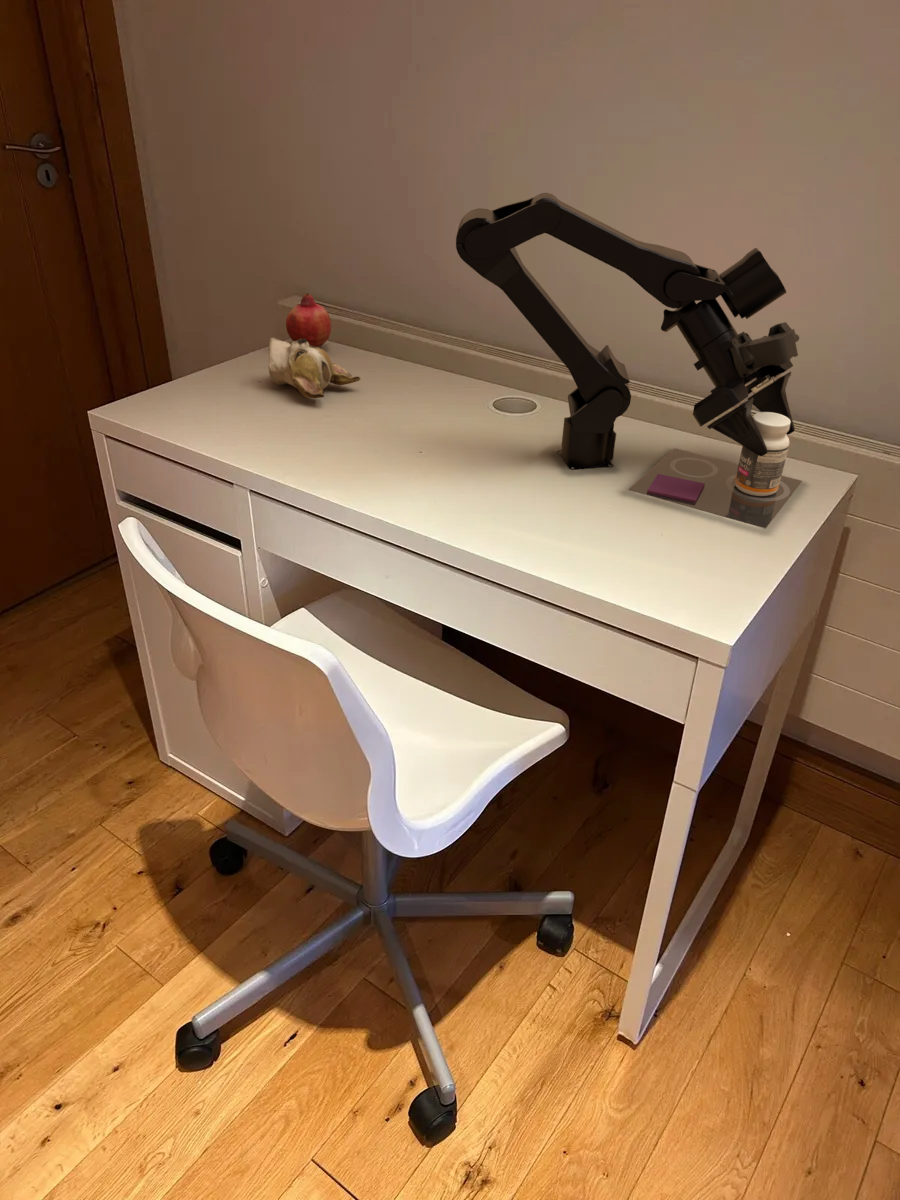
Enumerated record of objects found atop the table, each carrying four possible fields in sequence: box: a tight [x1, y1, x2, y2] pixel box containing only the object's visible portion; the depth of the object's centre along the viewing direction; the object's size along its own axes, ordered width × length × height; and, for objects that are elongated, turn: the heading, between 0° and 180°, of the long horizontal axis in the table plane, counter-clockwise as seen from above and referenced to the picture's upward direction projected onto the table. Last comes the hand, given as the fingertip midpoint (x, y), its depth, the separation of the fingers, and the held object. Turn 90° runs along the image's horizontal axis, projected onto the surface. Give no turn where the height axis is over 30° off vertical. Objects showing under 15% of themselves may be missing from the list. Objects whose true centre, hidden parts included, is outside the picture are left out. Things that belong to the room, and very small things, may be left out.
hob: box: [628, 447, 803, 529], centre depth 126 cm, size 16×18×1 cm
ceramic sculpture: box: [267, 337, 361, 399], centre depth 151 cm, size 11×9×15 cm
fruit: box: [285, 292, 332, 348], centre depth 167 cm, size 8×8×10 cm
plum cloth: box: [647, 474, 705, 503], centre depth 124 cm, size 6×6×1 cm
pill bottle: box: [735, 411, 791, 496], centre depth 122 cm, size 6×6×10 cm
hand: (778, 443), depth 121 cm, fingers open, 9 cm apart
